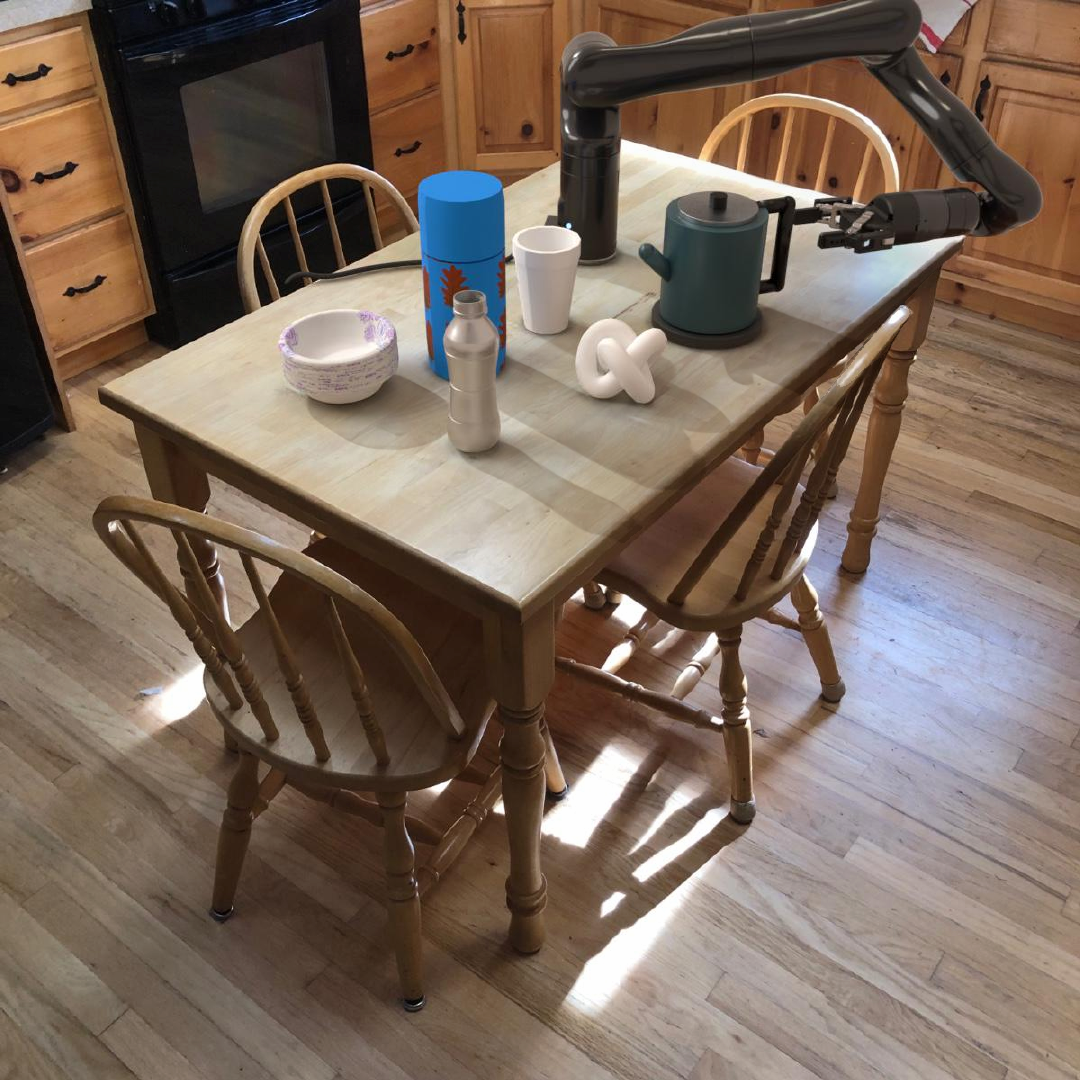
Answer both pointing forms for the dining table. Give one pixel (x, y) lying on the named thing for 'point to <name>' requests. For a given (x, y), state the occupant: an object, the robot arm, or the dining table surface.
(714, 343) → the kettle base
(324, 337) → the paper bowls
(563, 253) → the foam cup
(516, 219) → the dining table surface
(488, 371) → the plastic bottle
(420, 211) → the thermos
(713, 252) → the kettle
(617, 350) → the white knot sculpture
